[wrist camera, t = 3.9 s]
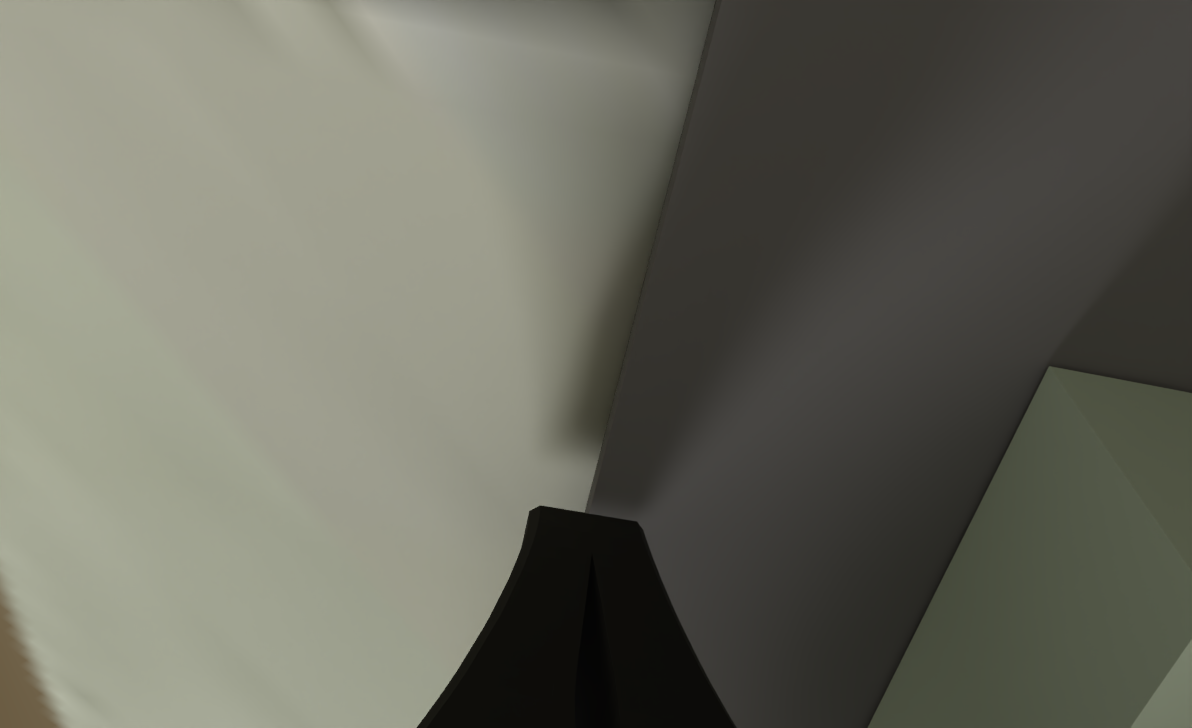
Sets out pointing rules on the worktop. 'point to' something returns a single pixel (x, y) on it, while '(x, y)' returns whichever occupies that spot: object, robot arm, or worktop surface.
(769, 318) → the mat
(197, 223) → the worktop surface
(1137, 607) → the socket block
